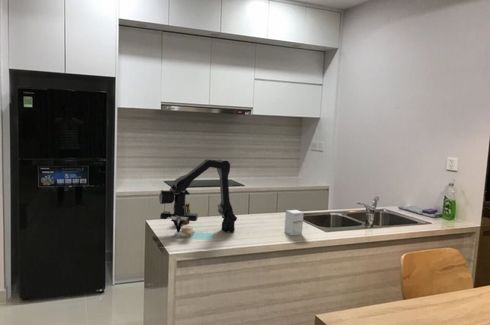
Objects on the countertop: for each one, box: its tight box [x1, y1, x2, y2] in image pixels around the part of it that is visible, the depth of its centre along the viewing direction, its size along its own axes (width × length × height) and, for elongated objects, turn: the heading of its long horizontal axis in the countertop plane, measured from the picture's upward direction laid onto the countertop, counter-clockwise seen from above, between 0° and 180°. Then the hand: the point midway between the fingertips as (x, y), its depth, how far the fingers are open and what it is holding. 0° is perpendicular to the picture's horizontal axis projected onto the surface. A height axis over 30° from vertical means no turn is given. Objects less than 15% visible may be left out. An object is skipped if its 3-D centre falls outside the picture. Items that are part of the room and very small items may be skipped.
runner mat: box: [171, 230, 215, 241], centre depth 203 cm, size 20×12×1 cm, turn 87°
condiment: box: [179, 202, 193, 225], centre depth 224 cm, size 7×8×12 cm
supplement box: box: [284, 209, 304, 237], centre depth 217 cm, size 7×7×13 cm
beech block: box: [180, 225, 194, 236], centre depth 203 cm, size 5×5×4 cm
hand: (178, 232), depth 204 cm, fingers closed
